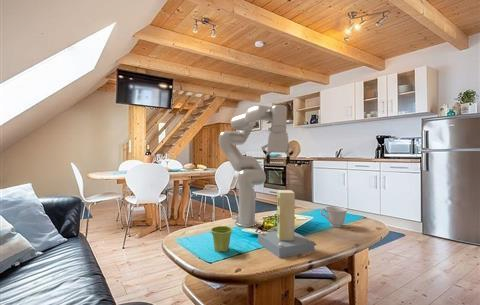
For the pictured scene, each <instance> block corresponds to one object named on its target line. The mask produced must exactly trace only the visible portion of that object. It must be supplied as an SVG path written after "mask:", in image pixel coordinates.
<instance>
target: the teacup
mask: <svg viewBox="0 0 480 305" xmlns="http://www.w3.org/2000/svg"><path fill="white" fill-rule="evenodd" d="M323 211H324V213H326V215H325V214H324V213H323ZM348 211H349V210H348V209H347V208H345V207H341V206H334V205H333V206H326V207H325V208H324V207H321V209H320V211H319V212H320V215H321V216H323V217H324V218H326V219H327V221H328V223H329V224H330V226H331V227H333V228H342V225H343V224H345V221H346V215H347V212H348Z"/></svg>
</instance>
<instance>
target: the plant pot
mask: <svg viewBox="0 0 480 305" xmlns="http://www.w3.org/2000/svg"><path fill="white" fill-rule="evenodd" d="M210 232H211V234H212V239H213V247H214V250H215V251H216V252H227V251H228V250H229V249H230V242H231V236H232V232H233V228H232V227H230V226H226V225H225V226H224V225H219V226H214V227H212V228H210Z"/></svg>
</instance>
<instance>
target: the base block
mask: <svg viewBox="0 0 480 305" xmlns="http://www.w3.org/2000/svg"><path fill="white" fill-rule="evenodd" d="M257 243H258V244H260V245H261V246H262V247H263V248H265V249H266V250H268V251H269V252H270V253H272V254H273V255H274V256H276V257H277V258H279V259H281V258H285V257H291V256H296V255H302V254H306V253H308V254H309V253H311V252H312V253H313V252H315V241H313V240H312V238H311V237H310V238H309V237H308V238H307V237H306V236H304V235H301V234H299V233H298V232H295V231H294V241H283V240H279V238H278V236H277V230H276V231H270V232H264V231H261V232H260V233H257Z"/></svg>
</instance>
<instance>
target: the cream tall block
mask: <svg viewBox="0 0 480 305" xmlns="http://www.w3.org/2000/svg"><path fill="white" fill-rule="evenodd" d="M276 193H277V194H276V196H277V201H276V204H277V205H276V206H277V208H276V210H277V211H276V231H277V236H278V238H279V240H283V241H294V232H295V215H296V214H295V209H296V208H295V205H296V204H295V202H296V193H295V192H294V191H293V190H291V189H277V192H276Z"/></svg>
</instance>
